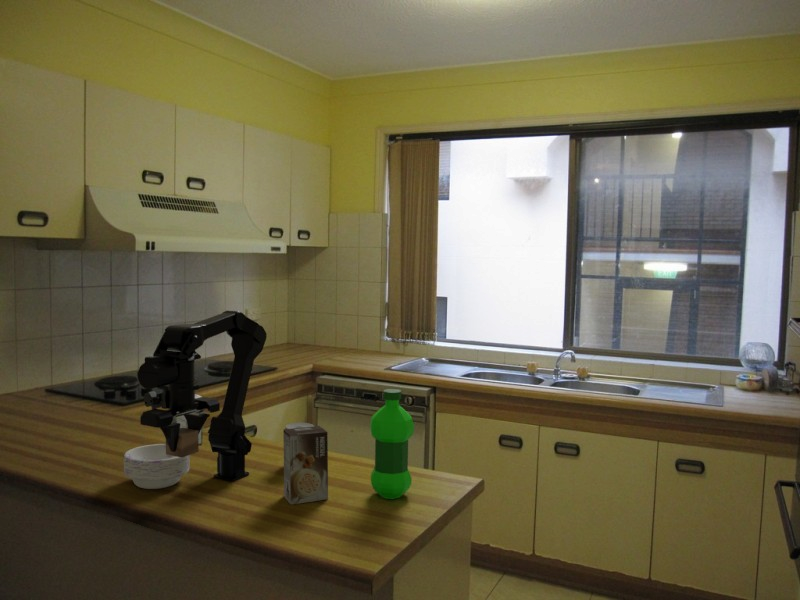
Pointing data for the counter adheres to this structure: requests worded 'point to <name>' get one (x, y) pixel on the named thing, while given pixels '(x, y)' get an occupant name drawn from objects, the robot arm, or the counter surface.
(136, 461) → the paper bowls
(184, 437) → the walnut block
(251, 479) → the counter surface
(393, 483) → the plastic bottle
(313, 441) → the coffee box
